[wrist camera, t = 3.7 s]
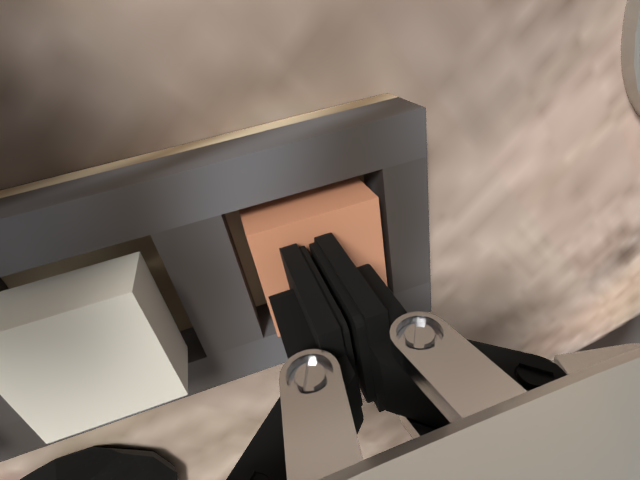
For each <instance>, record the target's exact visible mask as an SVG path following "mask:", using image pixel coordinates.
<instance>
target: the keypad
mask: <svg viewBox="0 0 640 480" xmlns="http://www.w3.org/2000/svg"><path fill="white" fill-rule="evenodd" d="M356 176H357V177H358V178H359V179H360V180H361V181H362V182H363V183H364V184H365V185H366V186H367V187H368V188H369V189H370V190H371V191H372V192H373V193H375V194H376V195H377V196H378V198H379V208H380V218H381V227H382V237H383V247H384V257H385V267H386V277H387V287H388V288H389V289H390V291H391V292H392V293H393V295H394V296H395V297H396V298H397V300H398V301H399V302H400V304H401V305H402V306H403V308H404V309H405V310H406V311H407V313H409V312H417V311H420V312H430V311H431V283H430V246H429V210H428V173H427V137H426V108H425V107H422V106H420V105H417V104H415V103H412V102H410V101H407V100H405V99H402V98H399V97H397V96H394V95H392V94H389V93H386V94H382V95H378V96H374V97H370V98H366V99H362V100H358V101H354V102H350V103H346V104H342V105H338V106H334V107H330V108H326V109H322V110H318V111H314V112H310V113H306V114H302V115H298V116H294V117H290V118H286V119H282V120H278V121H274V122H270V123H267V124H263V125H259V126H255V127H251V128H247V129H243V130H239V131H235V132H231V133H227V134H223V135H219V136H215V137H211V138H207V139H203V140H199V141H195V142H191V143H187V144H183V145H179V146H175V147H171V148H167V149H163V150H159V151H155V152H151V153H147V154H143V155H139V156H135V157H131V158H127V159H123V160H119V161H116V162H112V163H108V164H104V165H100V166H96V167H92V168H88V169H84V170H80V171H76V172H72V173H68V174H64V175H60V176H56V177H52V178H48V179H44V180H40V181H36V182H32V183H28V184H24V185H20V186H16V187H12V188H8V189H4V190H0V291H4V290H7V289H11V288H14V287H18V286H21V285H25V284H28V283H32V282H35V281H38V280H42V279H45V278H49V277H52V276H56V275H59V274H63V273H66V272H70V271H73V270H77V269H80V268H84V267H87V266H91V265H94V264H97V263H101V262H104V261H108V260H111V259H115V258H118V257H122V256H125V255H129V254H132V253H136V252H139V251H140V253H141V255H142V257H143V259H144V261H145V263H146V265H147V267H148V269H149V271H150V273H151V275H152V277H153V279H154V281H155V283H156V285H157V287H158V289H159V291H160V293H161V295H162V297H163V299H164V301H165V303H166V305H167V307H168V309H169V311H170V313H171V315H172V317H173V319H174V321H175V323H176V325H177V327H178V329H179V331H180V333H181V335H182V337H183V339H184V341H185V343H186V345H187V347H188V395H186V396H183V397H180V398H177V399H174V400H171V401H169V402H166V403H163V404H160V405H157V406H154V407H151V408H148V409H146V410H143V411H140V412H137V413H134V414H131V415H128V416H126V417H123V418H120V419H117V420H114V421H111V422H108V423H106V424H103V425H100V426H97V427H94V428H91V429H88V430H86V431H83V432H80V433H77V434H74V435H71V436H68V437H65V438H63V439H60V440H57V441H54V442H51V443H48V444H46V443H45V442H44V441H43V440H42V439H41V438H40V437H39V436H38V434H37V433H36V432H35V431H34V430H33V429H32V428H31V427H30V426H29V425H28V424H27V423H26V422H25V421H24V420H23V419H22V417H21V416H20V415H19V414H18V413H17V412H16V411H15V410H14V409H13V408H12V407H11V406H10V405H9V404H8V403H7V402H6V400H5V399H4V398H3V397H2V396H1V395H0V462H2V461H5V460H7V459H10V458H13V457H16V456H19V455H22V454H25V453H27V452H30V451H33V450H36V449H39V448H42V447H45V446H47V445H50V444H53V443H56V442H59V441H62V440H65V439H67V438H70V437H73V436H76V435H79V434H82V433H85V432H87V431H90V430H93V429H96V428H99V427H102V426H105V425H107V424H110V423H113V422H116V421H119V420H122V419H125V418H127V417H130V416H133V415H136V414H139V413H142V412H145V411H147V410H150V409H153V408H156V407H159V406H162V405H165V404H167V403H170V402H173V401H176V400H179V399H182V398H185V397H187V396H190V395H193V394H196V393H199V392H202V391H205V390H207V389H210V388H213V387H216V386H219V385H222V384H225V383H227V382H230V381H233V380H236V379H239V378H242V377H245V376H247V375H250V374H253V373H256V372H259V371H262V370H265V369H267V368H270V367H273V366H276V365H279V364H282V363H285V362H286V361H287V360H288V358H287V354H286V351H285V348H284V345H283V342H282V339H281V336H280V337H278V336H277V333H276V329H275V326H274V323H273V320H272V317H271V314H270V310H269V307H268V304H267V301H266V298H265V295H264V292H263V288H262V285H261V282H260V279H259V276H258V273H257V269H256V266H255V263H254V260H253V257H252V254H251V251H250V247H249V244H248V241H247V238H246V235H245V231H244V227H243V223H242V220H241V216H240V212H239V210H240V209H243V208H247V207H250V206H254V205H257V204H261V203H264V202H268V201H271V200H275V199H279V198H282V197H286V196H289V195H293V194H296V193H300V192H303V191H307V190H310V189H314V188H317V187H321V186H324V185H328V184H332V183H335V182H339V181H342V180H346V179H349V178H353V177H356Z"/></svg>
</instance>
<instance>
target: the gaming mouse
mask: <svg viewBox="0 0 640 480" xmlns="http://www.w3.org/2000/svg"><path fill="white" fill-rule="evenodd" d="M20 480H177V473H176V470H175V468H174V466H173V465H172V464H171V463H169V462H168V461H166V460H165V459H164V458H162V457H161V456H159V455H158V454H156V453H155V452H153V451H142V450H128V449H115V448H100V447H91V448H88V449H85V450H81V451H78V452H75V453H72V454H69V455H66V456H63V457H60V458H57V459H55V460H53V461H51V462H49V463H47V464H46V465H44V466H42V467H40V468H38V469H37V470H35V471H33V472H31V473H30V474H28V475H26V476H25V477H23V478H22V479H20Z"/></svg>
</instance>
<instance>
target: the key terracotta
mask: <svg viewBox="0 0 640 480" xmlns="http://www.w3.org/2000/svg"><path fill="white" fill-rule="evenodd" d="M239 212H240V216H241V220H242V223H243V227H244V231H245V235H246V238H247V241H248V244H249V247H250V251H251V254H252V257H253V260H254V263H255V266H256V269H257V273H258V276H259V279H260V282H261V285H262V288H263V292H264V295H265V298H266V301H267V304H268V307H269V310H270V314H271V317H272V320H273V323H274V326H275V329H276V333H277V336H278V337H280V332H279V329H278V326H277V323H276V320H275V316H274V313H273V310H272V307H271V304H270V300H269V297H268V296H271V295H274V294H277V293H281V292H284V291H287V290H290V288H289V284H288V281H287V277H286V273H285V270H284V266H283V262H282V258H281V255H280V251H279V248H282V247H285V246H288V245H292V244H295V243H297V245H298V247H301V246H305V247H306V249H307V251H308V253H309V255H310V257H311V253H310V248H309V244H310V243H314V237H317V236H320V235H324V234H327V233H330V232H331V233H332V234H333V235H334V236H335V238H336V239H337V241H338V242H339V243H340V245H341V246H342V248H343V249H344V250H345V252H346V253H347V255H348V256H349V258H350V259H351V260H352V262H353V263H354V265H355V266H356V267H359V266H362V265H365V264H370V265H371V266H372V267H373V269H374V270H375V271H376V273H377V274H378V275H379V276H380V278H381V279H382V280H383V282H384V283H385V284H386V286H387V277H386V267H385V257H384V247H383V237H382V227H381V218H380V208H379V198H378V196H377V195H376V194H375V193H373V192H372V191H371V190H370V189H369V188H368V187H367V186H366V185H365V184H364V183H363V182H362V181H361V180H360V179H359V178H358V177H357V176H356V177H353V178H349V179H346V180H342V181H339V182H335V183H332V184H328V185H324V186H321V187H317V188H314V189H310V190H307V191H303V192H300V193H296V194H293V195H289V196H286V197H282V198H279V199H275V200H271V201H268V202H264V203H261V204H257V205H254V206H250V207H247V208H243V209H240V210H239ZM311 258H312V257H311Z"/></svg>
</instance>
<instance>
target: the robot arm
mask: <svg viewBox="0 0 640 480" xmlns="http://www.w3.org/2000/svg"><path fill="white" fill-rule="evenodd" d="M621 66H622V76H623V80H624V85H625V89H626V92H627V96H628V98H629V100H630V102H631V104H632V106H633V107H634V109H635V111H636V113H637V114H638V115H639V116H640V0H627V3H626V7H625V12H624V20H623V27H622V37H621ZM309 248H310V253H311V257H312V258H311V257H310V255H309V253H308V251H307V249H306V247H305V246H301V247H298V245H297V243H295V244H292V245H288V246H285V247H282V248H279V251H280V255H281V258H282V262H283V266H284V270H285V273H286V277H287V281H288V284H289V288H290V290H287V291H284V292H281V293H277V294H274V295H271V296H268V297H269V300H270V304H271V307H272V310H273V313H274V316H275V320H276V323H277V326H278V329H279V332H280V336H281V339H282V342H283V345H284V348H285V351H286V354H287V358H288V360H287V361H286V362H285V364H284V365H283V367H282V369H281V371H280V376H279V386H280V397H279V399H278V401H277V402H276V404H275V405H274V407H273V408H272V410H271V411H270V413H269V414H268V416H267V418H266V419H265V421H264V422H263V424H262V425H261V427H260V428H259V430H258V431H257V433H256V435H255V436H254V438H253V439H252V441H251V442H250V444H249V445H248V447H247V448H246V450H245V452H244V453H243V455H242V456H241V458H240V459H239V461H238V462H237V464H236V465H235V467H234V469H233V470H232V472H231V473H230V475H229V476H228V478H227V479H226V480H640V343H639V344H638V343H637V344H636V343H635V344H623V345H617V346H611V347H605V348H599V349H592V350H586V351H580V352H574V353H568V354H561V355H555V358H554V360H553V361H550V360H548V359H546V358H543V357H540V356H537V355H533V354H529V353H524V352H520V351H515V350H511V349H506V348H502V347H498V346H493V345H489V344H484V343H480V342H476V341H471V340H467V339H465V338H464V337H463V336H462V335H461V334H459V333H458V332H457V331H456V330H455V329H453V328H452V327H451V326H450V325H449V324H448V323H446V322H445V321H444V320H443V319H441V318H440V317H438V316H437V315H434V314H431V313H428V312H420V311H417V312H409V313H407V311H406V310H405V309H404V308H403V306H402V305H401V304H400V302H399V301H398V300H397V298H396V297H395V296H394V295H393V293H392V292H391V291H390V289H389V288H388V287H387V286H386V284H385V283H384V282H383V280H382V279H381V278H380V276H379V275H378V274H377V273H376V271H375V270H374V269H373V267H372V266H371V265H370V264H365V265H362V266H359V267H356V266H355V265H354V263H353V262H352V260H351V259H350V258H349V256H348V255H347V253H346V252H345V250H344V249H343V248H342V246H341V245H340V243H339V242H338V241H337V239H336V238H335V236H334V235H333V234H332V233H331V232H330V233H327V234H324V235H320V236H317V237H314V243H310V244H309ZM360 389H361V391H362V393H363V395H364V397H365V399H366V401H367V402H368V403H370V402H372V401H374V402H375V404H376V406H377V408H378V410H379V412H381V411H384V410H386V411H389V412H392V413H395V414H398V415H399V419H400V421H401V422H402V424H403V426H404V427H405V429H406V430H407V431H408V432H409V434H410V435H411V436H412V438H413V439H412V440H410V441H408V442H405V443H403V444H401V445H398V446H396V447H393V448H391V449H389V450H386V451H384V452H382V453H379V454H377V455H375V456H372V457H370V458H367V459H365V460H363V457H362V453H361V449H360V445H359V441H358V437H357V434H358V431H359V429H360V427H361V425H362V422H363V420H364V419H363V413H362V408H361V406H362V398H361V393H360Z"/></svg>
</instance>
